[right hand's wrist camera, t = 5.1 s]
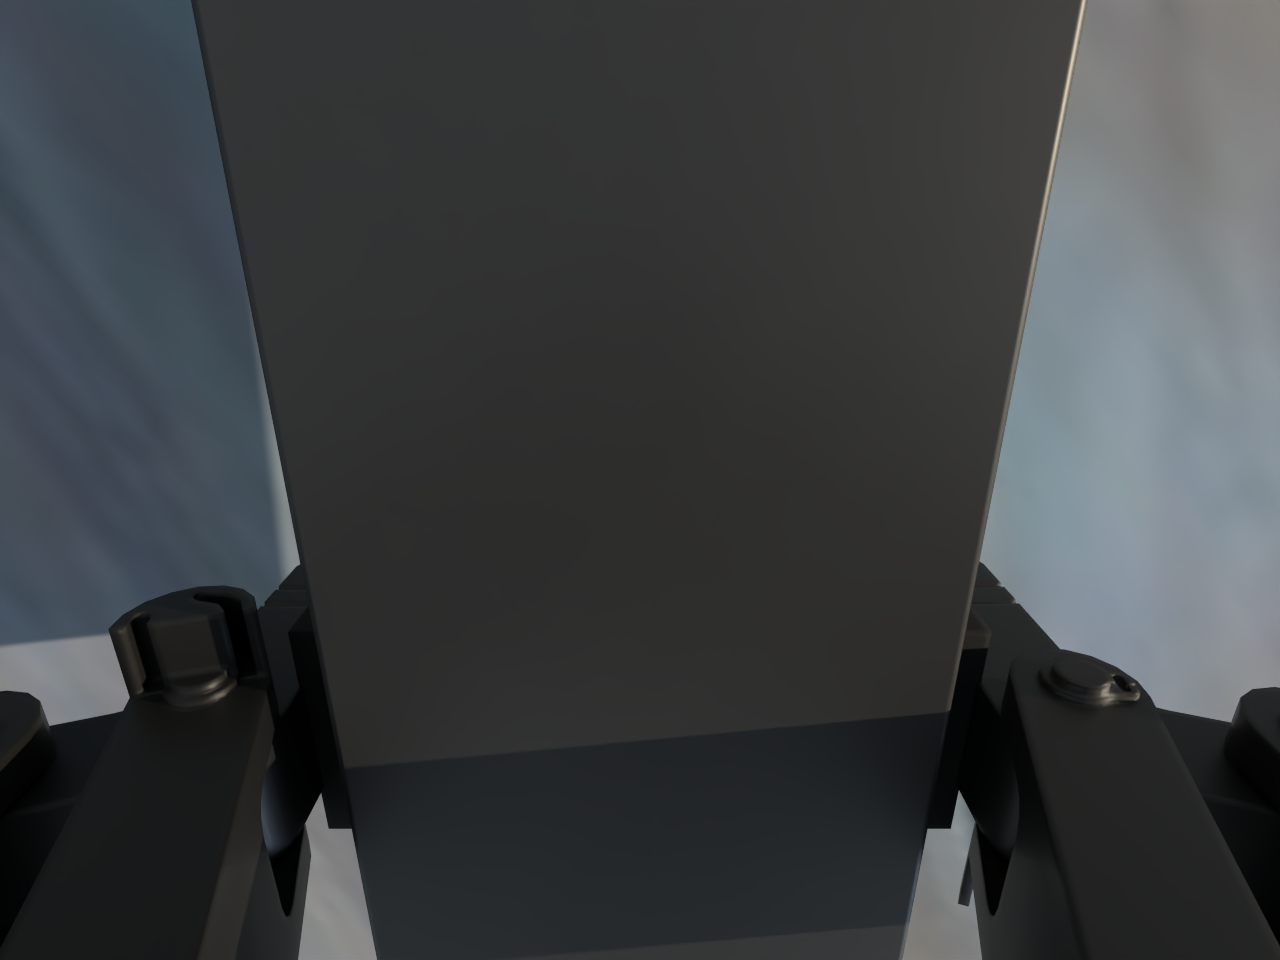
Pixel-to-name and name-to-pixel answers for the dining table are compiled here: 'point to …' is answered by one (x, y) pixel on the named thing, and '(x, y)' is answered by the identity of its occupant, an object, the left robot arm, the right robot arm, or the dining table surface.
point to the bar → (639, 438)
